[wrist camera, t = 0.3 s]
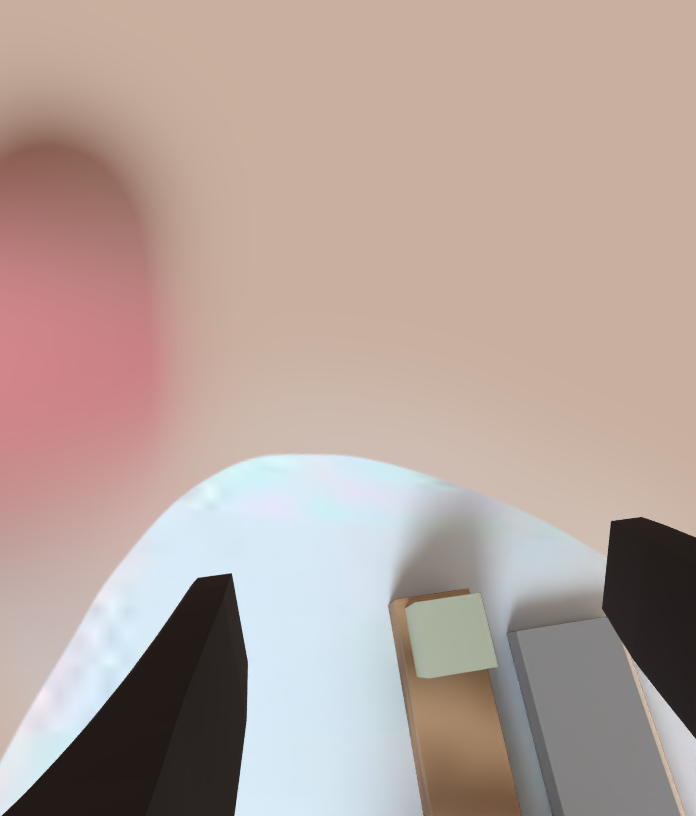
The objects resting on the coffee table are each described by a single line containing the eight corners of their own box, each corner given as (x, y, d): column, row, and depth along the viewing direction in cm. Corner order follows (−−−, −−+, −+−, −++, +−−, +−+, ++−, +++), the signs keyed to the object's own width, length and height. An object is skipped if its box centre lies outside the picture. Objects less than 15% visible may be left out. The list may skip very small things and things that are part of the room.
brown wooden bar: (557, 1059, 29) (591, 1116, 25) (468, 1082, 28) (490, 1143, 24) (454, 595, 39) (468, 588, 35) (388, 605, 38) (395, 599, 35)
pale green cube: (478, 666, 33) (498, 666, 30) (416, 677, 33) (428, 678, 29) (463, 599, 35) (480, 592, 31) (404, 608, 35) (414, 602, 31)
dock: (713, 947, 31) (738, 964, 29) (593, 975, 30) (611, 995, 28) (604, 617, 38) (618, 614, 37) (506, 633, 38) (516, 631, 36)
